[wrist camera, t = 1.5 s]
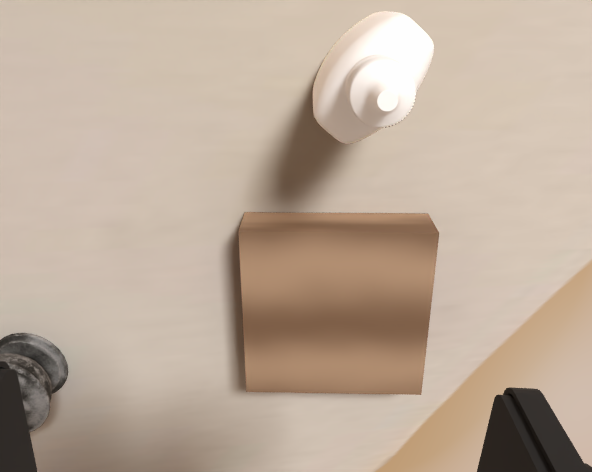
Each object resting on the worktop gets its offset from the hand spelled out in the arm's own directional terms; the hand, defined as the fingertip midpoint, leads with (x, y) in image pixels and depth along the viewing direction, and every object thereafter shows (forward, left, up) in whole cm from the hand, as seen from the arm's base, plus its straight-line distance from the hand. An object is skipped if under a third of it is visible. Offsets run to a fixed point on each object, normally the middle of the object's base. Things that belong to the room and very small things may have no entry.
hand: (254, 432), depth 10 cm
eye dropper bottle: (-5, +4, -22) cm, 23 cm away
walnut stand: (+9, +3, -22) cm, 24 cm away
